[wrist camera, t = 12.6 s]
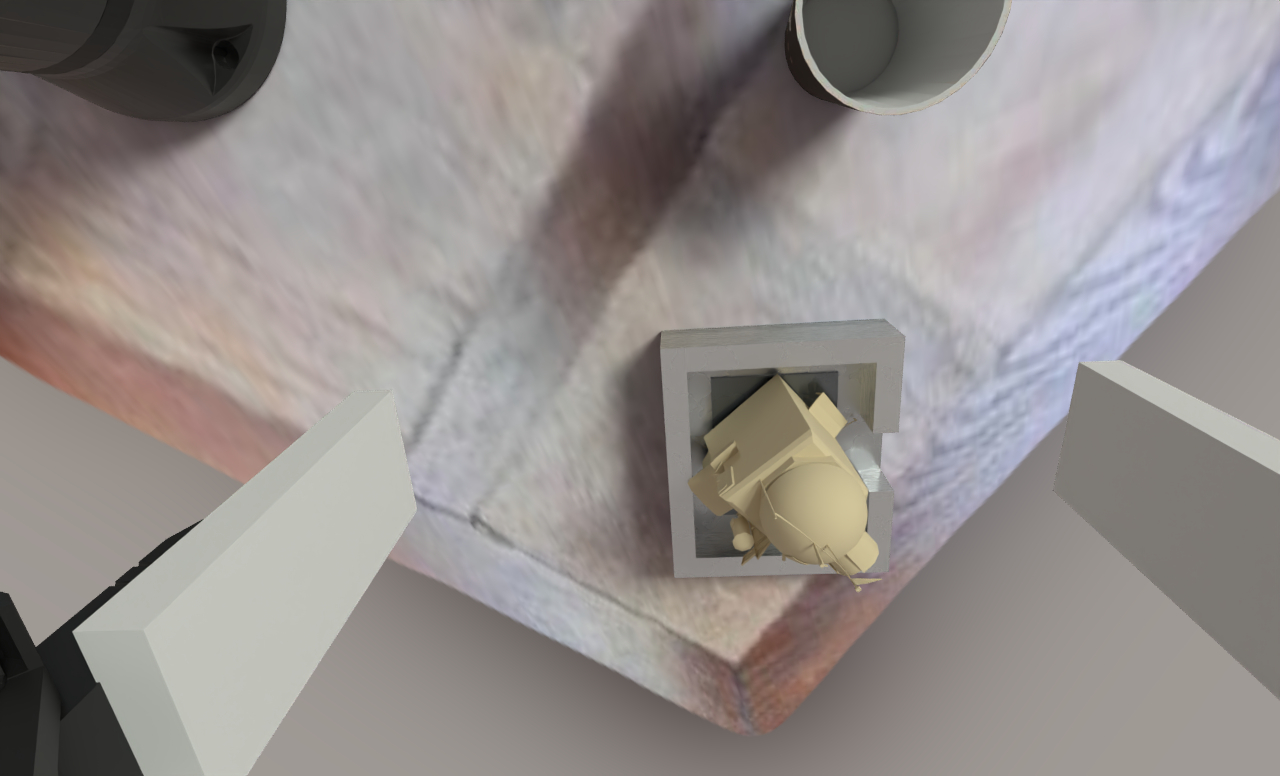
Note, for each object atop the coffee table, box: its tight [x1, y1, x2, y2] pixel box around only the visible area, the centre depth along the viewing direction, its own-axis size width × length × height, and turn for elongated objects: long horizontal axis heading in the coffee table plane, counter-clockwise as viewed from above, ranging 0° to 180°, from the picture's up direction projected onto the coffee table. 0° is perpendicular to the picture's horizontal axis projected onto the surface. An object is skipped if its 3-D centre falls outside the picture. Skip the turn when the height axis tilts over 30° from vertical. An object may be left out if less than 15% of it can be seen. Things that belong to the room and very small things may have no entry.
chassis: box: [660, 319, 905, 578], centre depth 42 cm, size 14×16×4 cm
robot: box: [688, 374, 882, 592], centre depth 36 cm, size 10×8×15 cm
